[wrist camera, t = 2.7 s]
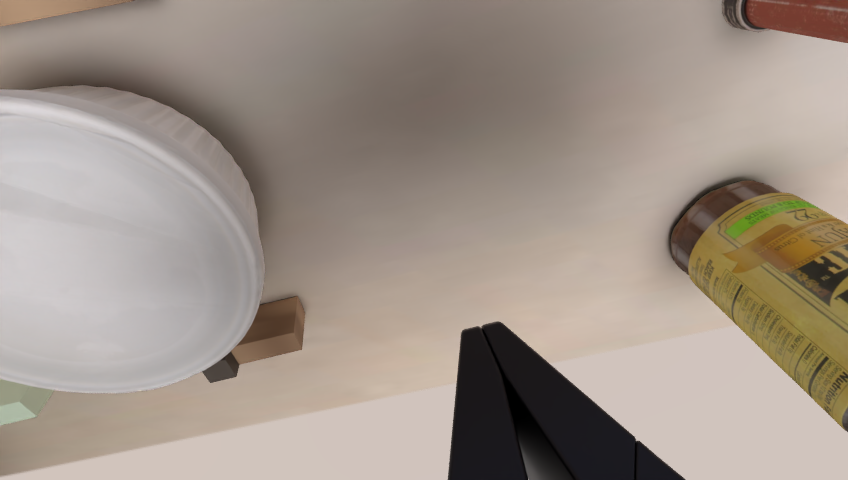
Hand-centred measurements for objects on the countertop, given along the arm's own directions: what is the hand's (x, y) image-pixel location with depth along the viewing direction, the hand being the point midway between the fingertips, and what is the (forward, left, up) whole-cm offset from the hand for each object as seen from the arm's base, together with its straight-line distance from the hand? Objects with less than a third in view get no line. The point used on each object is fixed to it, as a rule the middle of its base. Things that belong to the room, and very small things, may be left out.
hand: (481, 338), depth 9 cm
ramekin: (-11, 0, -11) cm, 16 cm away
